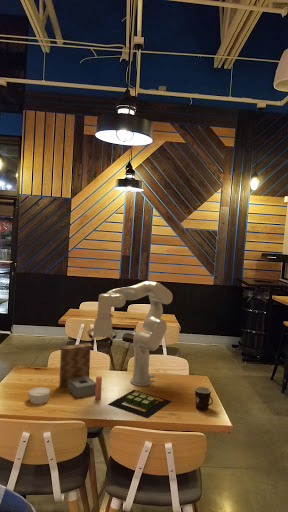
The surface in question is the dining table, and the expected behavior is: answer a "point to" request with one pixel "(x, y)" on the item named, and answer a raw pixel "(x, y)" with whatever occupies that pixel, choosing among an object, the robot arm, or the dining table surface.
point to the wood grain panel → (74, 362)
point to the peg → (98, 387)
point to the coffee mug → (202, 398)
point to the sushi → (140, 403)
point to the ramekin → (39, 395)
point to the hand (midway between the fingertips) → (101, 346)
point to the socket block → (81, 386)
